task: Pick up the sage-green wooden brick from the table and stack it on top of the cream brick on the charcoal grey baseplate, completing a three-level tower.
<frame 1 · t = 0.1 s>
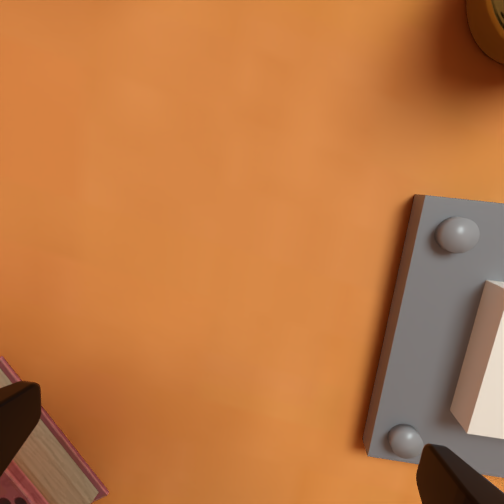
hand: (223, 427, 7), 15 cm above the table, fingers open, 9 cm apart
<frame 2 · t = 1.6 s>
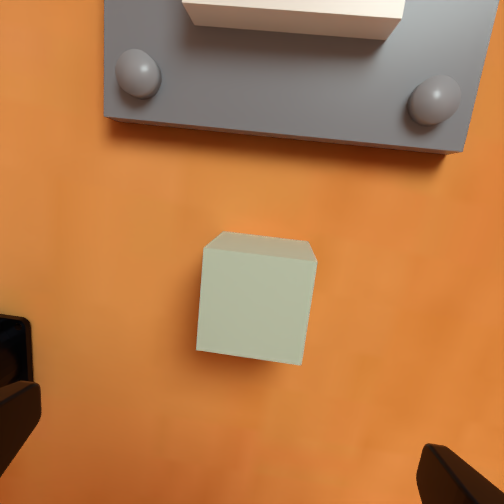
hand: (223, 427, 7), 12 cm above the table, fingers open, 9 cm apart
sage brick: (260, 276, 19), on the table
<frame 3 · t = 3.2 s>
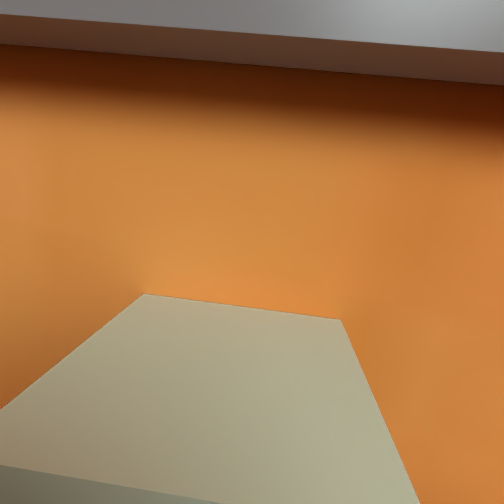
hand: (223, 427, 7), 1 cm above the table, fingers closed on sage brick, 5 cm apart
sage brick: (231, 393, 9), on the table, touching gripper
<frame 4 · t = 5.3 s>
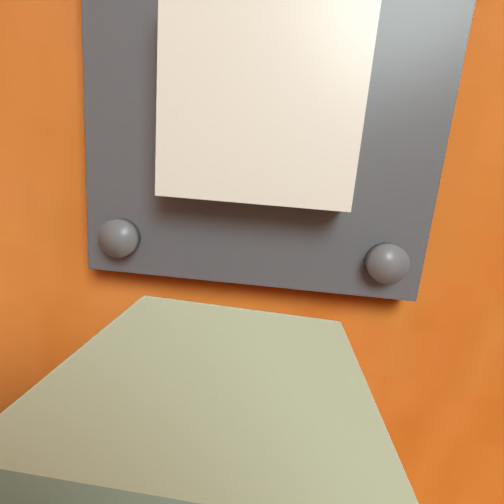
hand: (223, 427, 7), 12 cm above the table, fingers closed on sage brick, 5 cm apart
sage brick: (231, 394, 9), point 11 cm above the table, touching gripper
tower base: (263, 115, 17), on the table
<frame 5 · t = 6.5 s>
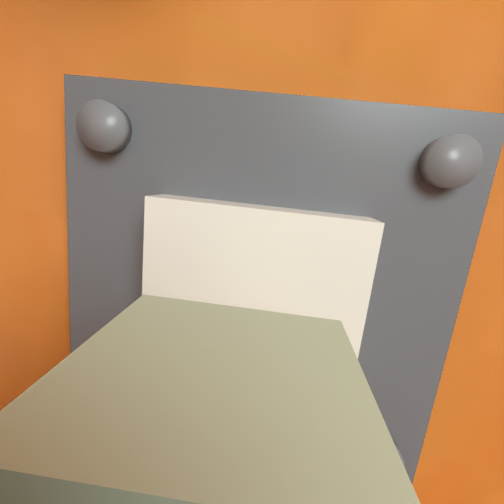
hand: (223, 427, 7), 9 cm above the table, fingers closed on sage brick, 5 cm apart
sage brick: (231, 394, 9), point 8 cm above the table, touching gripper
tower base: (256, 291, 16), on the table
when the fingers open (6 cm above the table, at t = 7.6 s): sage brick stays where it is, resting on tower base.
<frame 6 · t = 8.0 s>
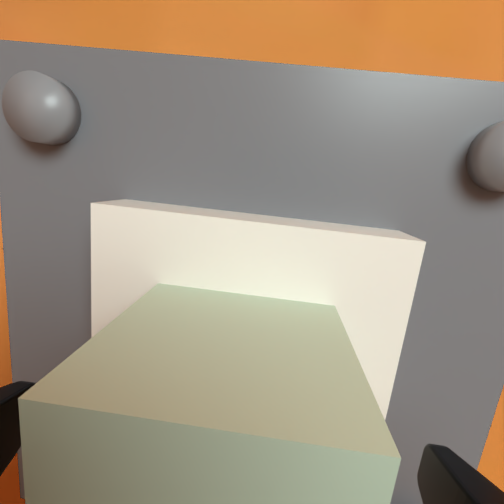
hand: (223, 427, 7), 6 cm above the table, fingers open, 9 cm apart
sage brick: (236, 373, 10), point 3 cm above the table, touching tower base
tower base: (248, 321, 13), on the table
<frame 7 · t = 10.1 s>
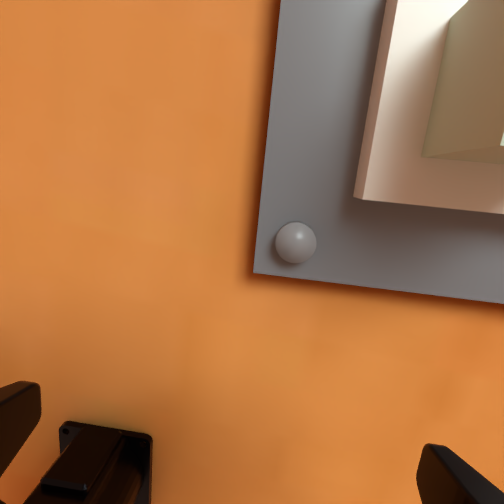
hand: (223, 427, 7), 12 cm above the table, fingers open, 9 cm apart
sage brick: (501, 95, 12), point 3 cm above the table, touching tower base
tower base: (455, 112, 16), on the table
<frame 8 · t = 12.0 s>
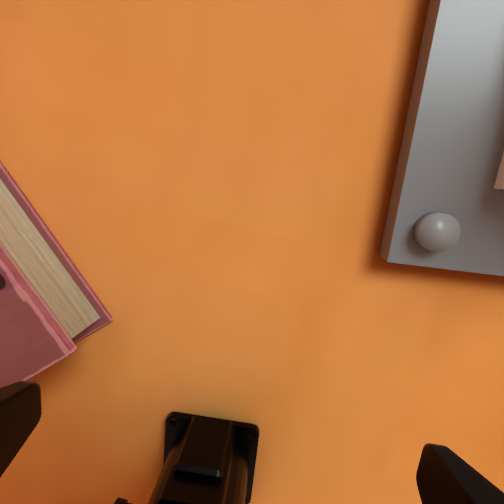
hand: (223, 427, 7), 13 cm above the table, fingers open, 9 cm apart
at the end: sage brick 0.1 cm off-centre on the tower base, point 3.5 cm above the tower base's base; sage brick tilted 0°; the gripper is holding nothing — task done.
